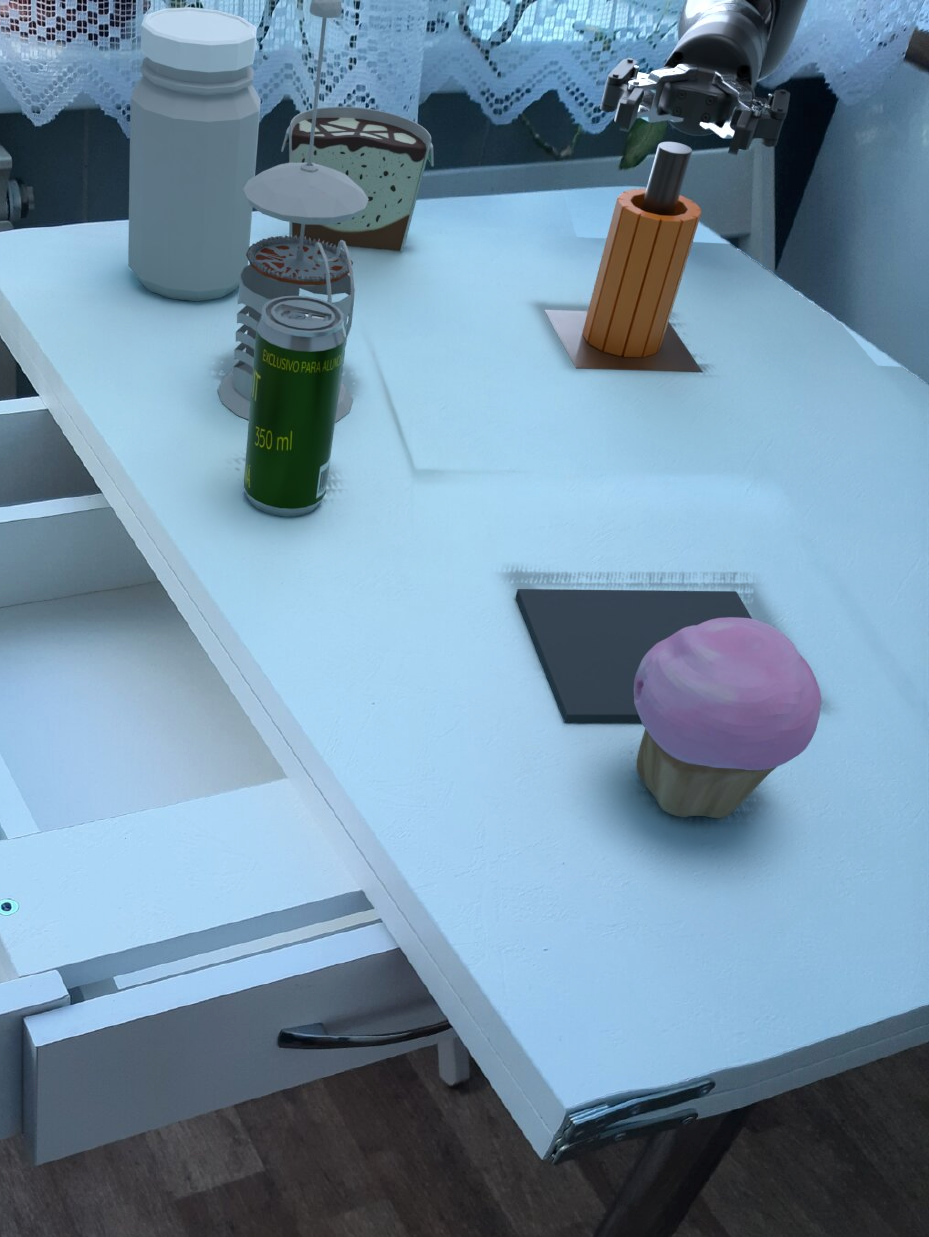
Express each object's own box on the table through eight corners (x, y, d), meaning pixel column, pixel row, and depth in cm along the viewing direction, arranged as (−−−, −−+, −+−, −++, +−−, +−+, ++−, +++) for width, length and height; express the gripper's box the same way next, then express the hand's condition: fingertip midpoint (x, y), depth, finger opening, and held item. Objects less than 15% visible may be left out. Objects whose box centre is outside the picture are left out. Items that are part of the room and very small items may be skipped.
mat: (733, 599, 86) (736, 590, 86) (804, 722, 78) (808, 714, 78) (515, 597, 84) (517, 588, 84) (564, 723, 76) (567, 714, 76)
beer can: (328, 482, 92) (352, 301, 83) (319, 524, 88) (343, 340, 79) (248, 470, 92) (264, 289, 83) (236, 512, 88) (251, 327, 80)
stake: (659, 328, 112) (719, 126, 102) (698, 387, 106) (767, 177, 95) (540, 324, 111) (588, 119, 100) (572, 383, 105) (627, 171, 94)
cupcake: (742, 744, 76) (810, 590, 69) (792, 856, 70) (872, 700, 63) (585, 740, 75) (637, 583, 68) (621, 852, 70) (682, 694, 62)
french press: (318, 357, 104) (365, -34, 86) (387, 432, 97) (454, 23, 79) (197, 371, 101) (219, -31, 83) (259, 450, 94) (298, 29, 76)
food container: (413, 238, 121) (433, 113, 114) (417, 267, 117) (438, 139, 110) (273, 225, 121) (284, 98, 114) (271, 253, 117) (283, 123, 109)
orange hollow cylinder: (647, 324, 110) (686, 190, 103) (670, 359, 106) (712, 222, 99) (574, 321, 109) (608, 187, 102) (594, 356, 105) (631, 219, 98)
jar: (108, 290, 109) (109, 29, 96) (152, 245, 116) (159, -4, 103) (225, 316, 108) (243, 55, 95) (263, 269, 114) (285, 19, 101)
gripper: (642, 4, 116) (604, 55, 105) (813, 38, 113) (792, 94, 102) (617, 103, 121) (578, 161, 111) (780, 138, 119) (756, 200, 108)
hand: (681, 129), depth 107 cm, fingers open, 8 cm apart
